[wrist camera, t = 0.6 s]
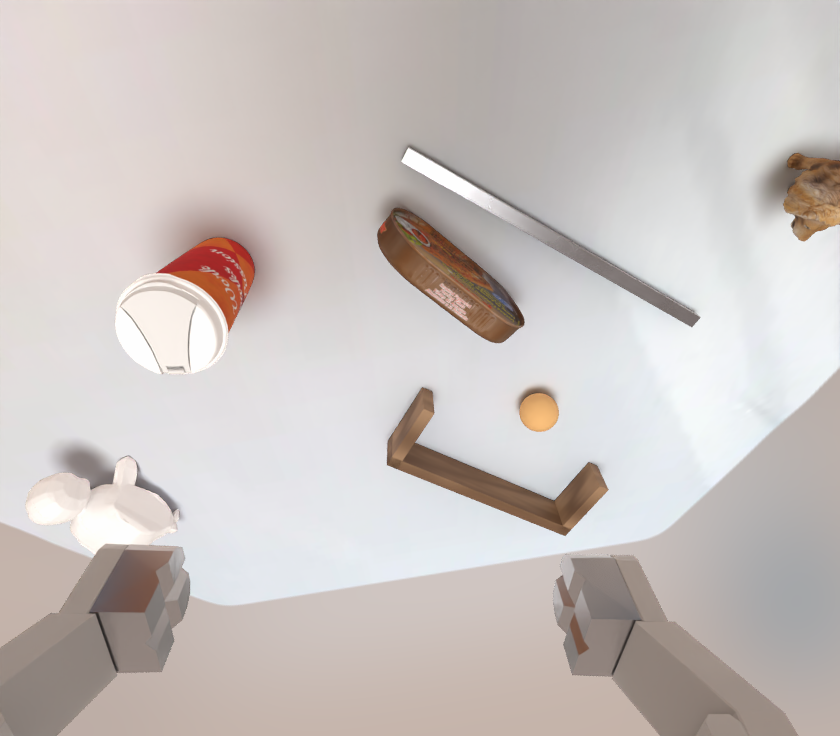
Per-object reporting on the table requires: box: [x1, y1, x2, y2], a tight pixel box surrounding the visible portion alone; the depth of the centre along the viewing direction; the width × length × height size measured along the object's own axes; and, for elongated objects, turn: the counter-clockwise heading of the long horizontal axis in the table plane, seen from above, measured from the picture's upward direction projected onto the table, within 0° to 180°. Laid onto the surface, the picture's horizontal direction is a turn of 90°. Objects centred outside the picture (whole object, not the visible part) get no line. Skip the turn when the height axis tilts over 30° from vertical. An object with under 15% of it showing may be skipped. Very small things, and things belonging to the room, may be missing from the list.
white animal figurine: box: [25, 456, 179, 555], centre depth 58 cm, size 9×8×15 cm
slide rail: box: [402, 146, 700, 327], centre depth 48 cm, size 1×32×1 cm, turn 62°
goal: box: [387, 387, 608, 536], centre depth 59 cm, size 8×23×4 cm, turn 61°
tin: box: [377, 208, 524, 343], centre depth 46 cm, size 15×3×8 cm, turn 50°
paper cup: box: [115, 238, 255, 375], centre depth 43 cm, size 8×8×14 cm
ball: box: [519, 393, 559, 432], centre depth 56 cm, size 4×4×4 cm
